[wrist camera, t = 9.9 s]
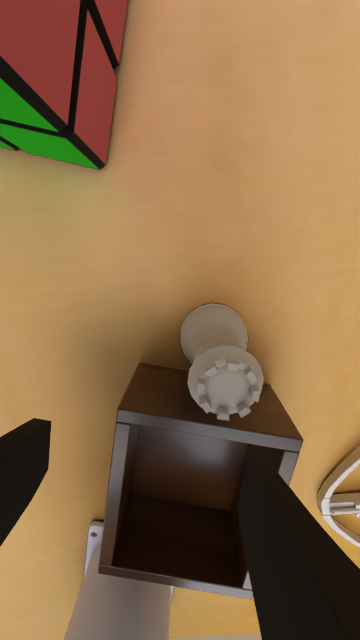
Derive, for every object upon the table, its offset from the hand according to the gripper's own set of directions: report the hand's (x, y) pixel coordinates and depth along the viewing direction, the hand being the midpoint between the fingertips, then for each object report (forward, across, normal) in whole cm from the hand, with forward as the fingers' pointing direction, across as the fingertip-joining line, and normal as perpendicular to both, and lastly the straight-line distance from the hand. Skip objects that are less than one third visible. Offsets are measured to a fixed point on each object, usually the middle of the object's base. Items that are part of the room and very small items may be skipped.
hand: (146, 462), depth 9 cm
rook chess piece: (+10, -3, -2) cm, 11 cm away
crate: (+10, -3, +6) cm, 12 cm away
